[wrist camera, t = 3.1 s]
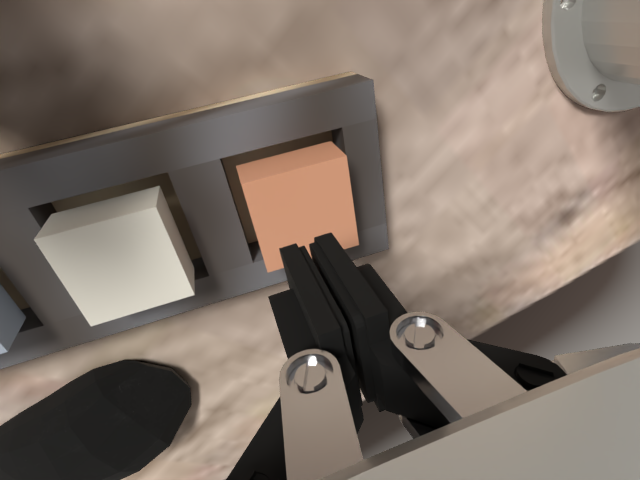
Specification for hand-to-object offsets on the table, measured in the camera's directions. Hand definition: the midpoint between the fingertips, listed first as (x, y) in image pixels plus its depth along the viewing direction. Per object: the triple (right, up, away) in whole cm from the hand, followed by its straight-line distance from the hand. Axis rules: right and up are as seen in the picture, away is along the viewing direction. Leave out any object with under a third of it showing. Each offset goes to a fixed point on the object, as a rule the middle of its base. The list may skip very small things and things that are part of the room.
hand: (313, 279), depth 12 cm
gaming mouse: (-14, -10, +11) cm, 21 cm away
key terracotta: (-1, +3, +5) cm, 6 cm away
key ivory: (-8, +1, +4) cm, 8 cm away
